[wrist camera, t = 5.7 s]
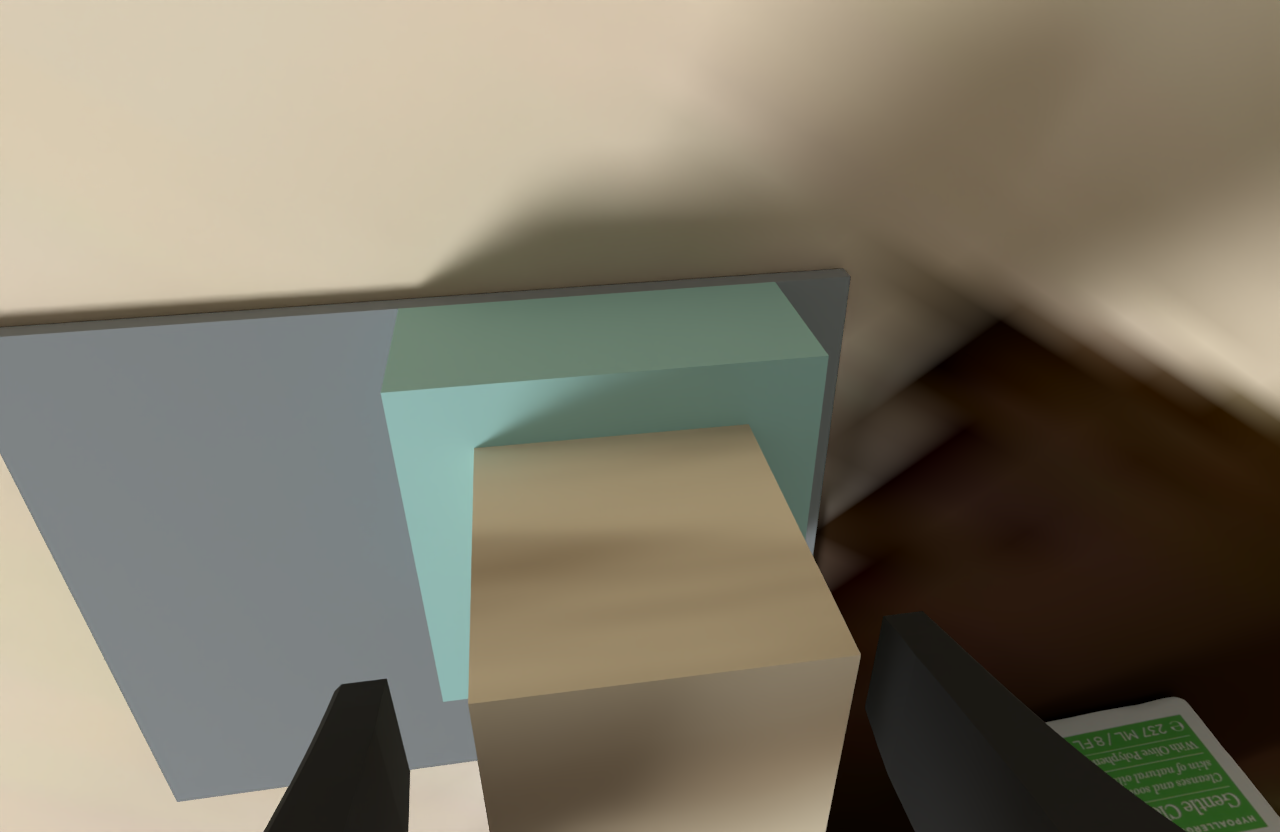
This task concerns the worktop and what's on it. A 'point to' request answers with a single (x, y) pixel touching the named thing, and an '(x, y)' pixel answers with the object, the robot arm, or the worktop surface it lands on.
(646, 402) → the plinth
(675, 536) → the maple block
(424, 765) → the mat
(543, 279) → the worktop surface
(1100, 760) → the skincare box
